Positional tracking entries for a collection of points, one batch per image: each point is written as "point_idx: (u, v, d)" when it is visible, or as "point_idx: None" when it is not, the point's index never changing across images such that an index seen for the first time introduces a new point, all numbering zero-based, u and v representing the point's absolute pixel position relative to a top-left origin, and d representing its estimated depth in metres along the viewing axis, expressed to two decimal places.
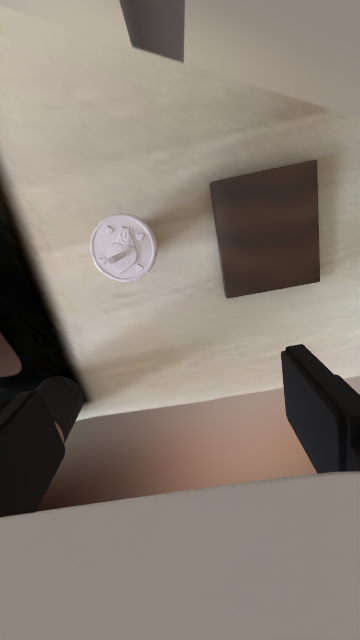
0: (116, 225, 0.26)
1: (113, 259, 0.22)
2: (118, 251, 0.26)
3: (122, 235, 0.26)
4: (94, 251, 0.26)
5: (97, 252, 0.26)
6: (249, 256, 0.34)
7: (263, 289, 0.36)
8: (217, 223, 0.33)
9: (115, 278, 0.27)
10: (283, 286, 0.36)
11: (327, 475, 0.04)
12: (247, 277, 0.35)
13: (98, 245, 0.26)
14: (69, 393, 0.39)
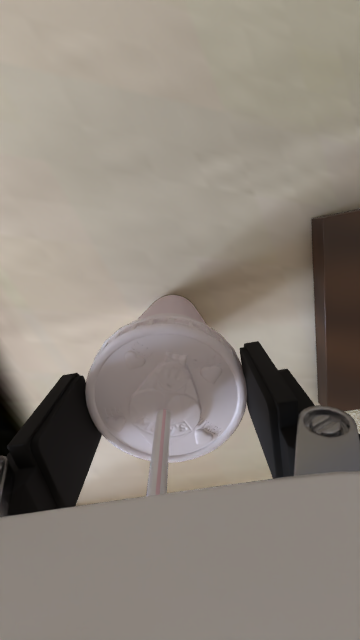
0: (151, 349, 0.10)
1: None
2: (155, 408, 0.11)
3: (167, 374, 0.10)
4: (96, 405, 0.11)
5: (105, 406, 0.11)
6: None
7: None
8: (326, 292, 0.18)
9: (144, 456, 0.12)
10: None
11: (327, 475, 0.04)
12: None
13: (106, 392, 0.11)
14: None
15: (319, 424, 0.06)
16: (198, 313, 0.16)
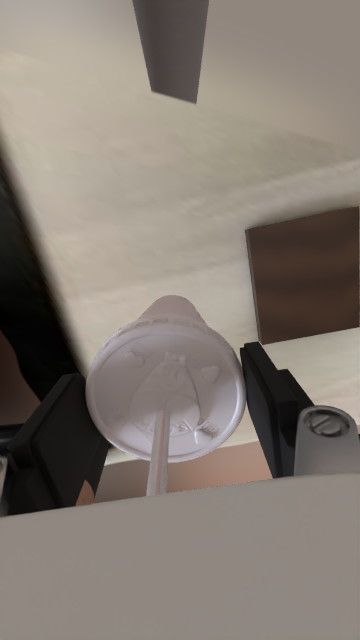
0: (151, 350, 0.10)
1: None
2: (155, 408, 0.11)
3: (167, 374, 0.10)
4: (96, 405, 0.11)
5: (105, 406, 0.11)
6: (286, 303, 0.33)
7: (300, 335, 0.34)
8: (253, 270, 0.32)
9: (144, 456, 0.12)
10: (320, 332, 0.34)
11: (327, 475, 0.04)
12: (283, 323, 0.34)
13: (106, 392, 0.11)
14: None
15: (319, 424, 0.06)
16: (198, 313, 0.16)
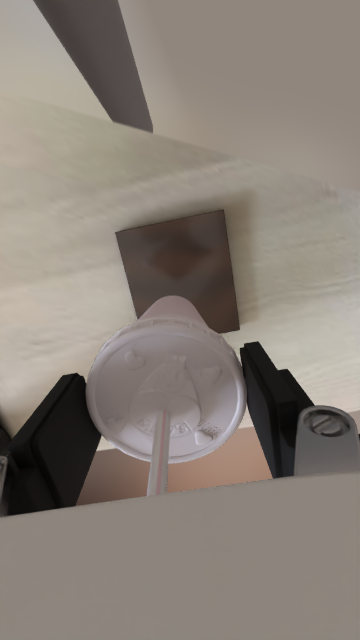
0: (151, 350, 0.10)
1: None
2: (156, 409, 0.11)
3: (167, 375, 0.10)
4: (97, 406, 0.11)
5: (105, 407, 0.11)
6: None
7: None
8: (126, 273, 0.32)
9: (145, 457, 0.12)
10: None
11: (327, 475, 0.04)
12: None
13: (106, 393, 0.11)
14: None
15: (319, 424, 0.06)
16: (198, 314, 0.16)
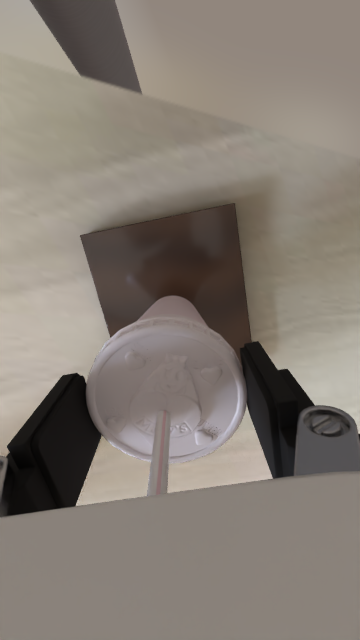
0: (151, 350, 0.10)
1: None
2: (156, 409, 0.11)
3: (167, 375, 0.10)
4: (97, 406, 0.11)
5: (105, 407, 0.11)
6: None
7: None
8: (98, 292, 0.23)
9: (144, 457, 0.12)
10: None
11: (327, 475, 0.04)
12: None
13: (106, 393, 0.11)
14: None
15: (319, 424, 0.06)
16: (198, 314, 0.16)
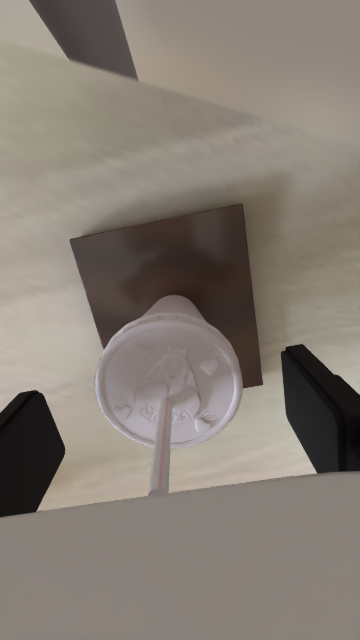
0: (155, 343, 0.11)
1: (164, 492, 0.08)
2: (159, 397, 0.12)
3: (169, 366, 0.11)
4: (105, 395, 0.12)
5: (112, 396, 0.12)
6: None
7: None
8: (90, 302, 0.20)
9: (148, 443, 0.13)
10: None
11: (327, 475, 0.04)
12: None
13: (114, 383, 0.12)
14: None
15: None
16: (198, 312, 0.17)
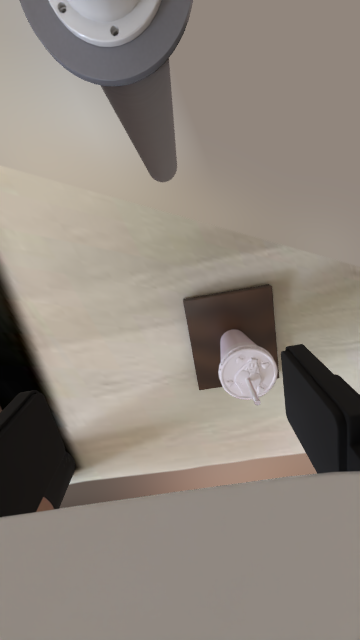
0: (245, 356, 0.30)
1: (259, 401, 0.26)
2: (245, 377, 0.30)
3: (250, 365, 0.30)
4: (223, 376, 0.30)
5: (226, 376, 0.30)
6: (217, 358, 0.40)
7: None
8: (189, 332, 0.39)
9: (237, 397, 0.31)
10: None
11: (327, 475, 0.04)
12: (216, 374, 0.41)
13: (227, 371, 0.30)
14: (61, 466, 0.44)
15: None
16: None
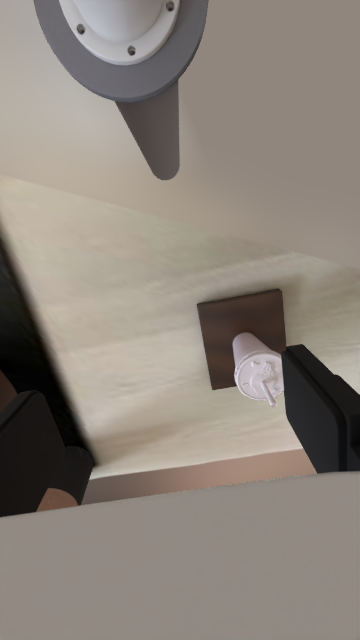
0: (260, 361, 0.31)
1: (275, 404, 0.28)
2: (260, 380, 0.32)
3: (265, 369, 0.31)
4: (239, 379, 0.32)
5: (242, 379, 0.32)
6: (230, 359, 0.42)
7: None
8: (203, 336, 0.41)
9: (252, 398, 0.33)
10: None
11: (327, 475, 0.04)
12: (228, 374, 0.43)
13: (243, 375, 0.32)
14: (81, 463, 0.47)
15: None
16: None
